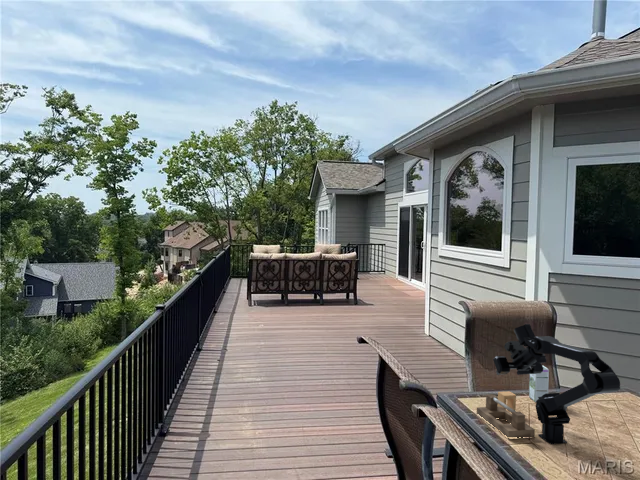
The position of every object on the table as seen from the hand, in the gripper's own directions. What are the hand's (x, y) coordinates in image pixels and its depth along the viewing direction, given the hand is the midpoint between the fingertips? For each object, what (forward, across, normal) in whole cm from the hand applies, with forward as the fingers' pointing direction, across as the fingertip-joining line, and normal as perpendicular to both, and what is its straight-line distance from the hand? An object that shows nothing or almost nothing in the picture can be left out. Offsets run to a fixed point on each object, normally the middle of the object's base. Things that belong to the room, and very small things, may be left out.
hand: (507, 373), depth 172 cm
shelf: (0, +9, +20) cm, 22 cm away
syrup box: (+15, -22, +6) cm, 27 cm away
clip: (+8, +1, +12) cm, 15 cm away
